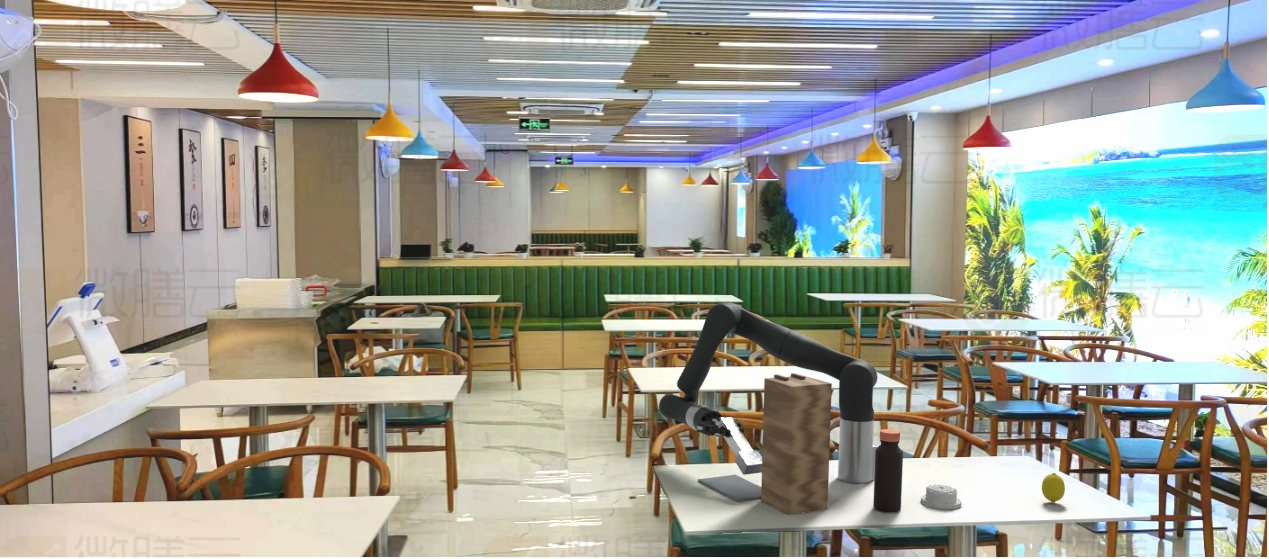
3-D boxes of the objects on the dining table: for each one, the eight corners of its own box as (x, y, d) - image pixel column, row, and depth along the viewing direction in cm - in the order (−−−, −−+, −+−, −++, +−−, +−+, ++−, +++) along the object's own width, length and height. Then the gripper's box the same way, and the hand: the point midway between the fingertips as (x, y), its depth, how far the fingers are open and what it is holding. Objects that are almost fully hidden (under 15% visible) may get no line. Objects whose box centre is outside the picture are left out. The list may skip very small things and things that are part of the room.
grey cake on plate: (965, 511, 243) (956, 499, 253) (965, 494, 242) (957, 483, 252) (924, 509, 244) (917, 497, 254) (925, 492, 243) (918, 481, 253)
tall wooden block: (799, 495, 252) (803, 372, 250) (827, 509, 242) (831, 380, 239) (760, 501, 247) (764, 375, 245) (788, 514, 236) (792, 383, 234)
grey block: (731, 425, 267) (735, 416, 265) (761, 472, 253) (765, 463, 252) (713, 427, 264) (717, 418, 262) (743, 474, 251) (747, 465, 249)
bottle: (886, 514, 238) (889, 435, 236) (867, 507, 244) (870, 429, 242) (906, 511, 241) (909, 432, 240) (887, 503, 247) (890, 427, 246)
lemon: (1064, 501, 252) (1065, 471, 251) (1063, 507, 247) (1065, 476, 246) (1041, 498, 254) (1042, 469, 253) (1040, 504, 249) (1042, 474, 248)
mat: (735, 476, 270) (735, 474, 269) (775, 496, 252) (775, 494, 252) (698, 481, 264) (698, 479, 264) (737, 501, 246) (737, 499, 246)
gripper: (682, 408, 271) (713, 421, 256) (725, 404, 277) (758, 417, 262) (681, 434, 272) (713, 449, 256) (724, 430, 278) (757, 444, 263)
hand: (735, 433), depth 259 cm, fingers closed on grey block, 3 cm apart
